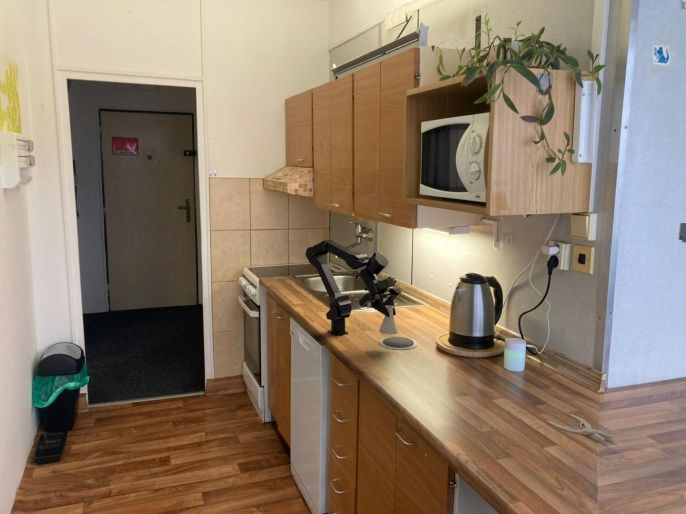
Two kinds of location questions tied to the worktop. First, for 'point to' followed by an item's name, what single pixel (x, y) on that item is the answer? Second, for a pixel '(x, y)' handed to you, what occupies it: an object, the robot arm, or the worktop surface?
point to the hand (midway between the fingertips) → (392, 315)
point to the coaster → (398, 343)
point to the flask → (389, 323)
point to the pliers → (585, 430)
